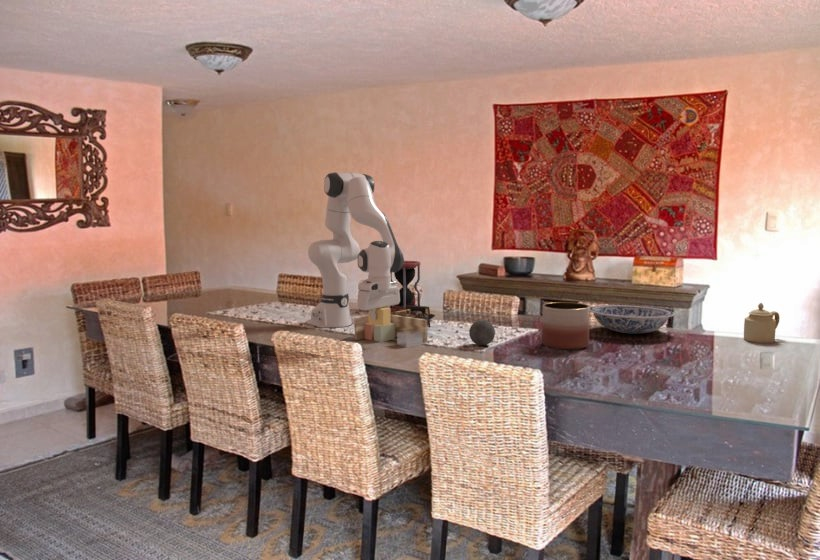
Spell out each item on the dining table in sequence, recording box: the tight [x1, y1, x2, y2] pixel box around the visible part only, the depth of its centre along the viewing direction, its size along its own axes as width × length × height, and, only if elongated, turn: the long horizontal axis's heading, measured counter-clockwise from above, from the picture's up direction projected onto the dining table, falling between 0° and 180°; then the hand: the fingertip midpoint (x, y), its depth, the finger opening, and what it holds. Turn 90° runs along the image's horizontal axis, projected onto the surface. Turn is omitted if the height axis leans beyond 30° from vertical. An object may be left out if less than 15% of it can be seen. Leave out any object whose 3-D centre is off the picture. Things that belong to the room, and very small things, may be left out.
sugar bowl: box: [743, 302, 780, 344], centre depth 263 cm, size 15×11×15 cm
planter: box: [541, 301, 590, 351], centre depth 255 cm, size 18×18×16 cm
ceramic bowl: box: [589, 304, 676, 335], centre depth 278 cm, size 34×34×10 cm
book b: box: [373, 323, 396, 343], centre depth 269 cm, size 4×8×6 cm, turn 138°
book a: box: [364, 323, 374, 341], centre depth 272 cm, size 4×8×6 cm, turn 138°
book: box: [368, 307, 391, 326], centre depth 257 cm, size 4×8×6 cm, turn 48°
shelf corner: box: [354, 314, 428, 343], centre depth 266 cm, size 26×15×9 cm, turn 48°
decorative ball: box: [468, 319, 496, 346], centre depth 257 cm, size 10×10×10 cm
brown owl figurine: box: [390, 305, 436, 328], centre depth 287 cm, size 15×11×25 cm
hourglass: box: [390, 260, 421, 312], centre depth 337 cm, size 16×16×25 cm
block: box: [396, 330, 424, 348], centre depth 260 cm, size 6×8×5 cm
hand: (379, 318), depth 258 cm, fingers closed on book, 4 cm apart
